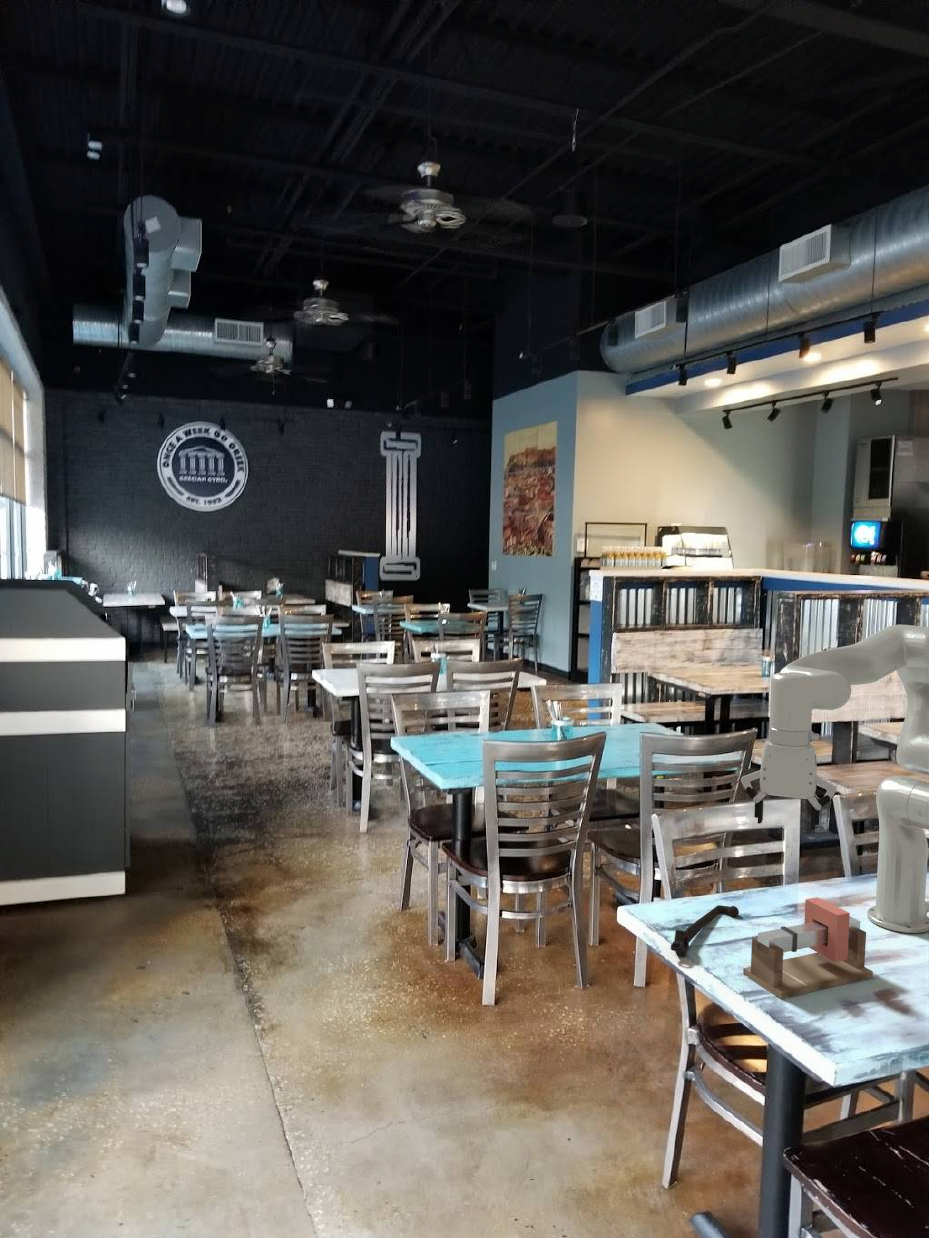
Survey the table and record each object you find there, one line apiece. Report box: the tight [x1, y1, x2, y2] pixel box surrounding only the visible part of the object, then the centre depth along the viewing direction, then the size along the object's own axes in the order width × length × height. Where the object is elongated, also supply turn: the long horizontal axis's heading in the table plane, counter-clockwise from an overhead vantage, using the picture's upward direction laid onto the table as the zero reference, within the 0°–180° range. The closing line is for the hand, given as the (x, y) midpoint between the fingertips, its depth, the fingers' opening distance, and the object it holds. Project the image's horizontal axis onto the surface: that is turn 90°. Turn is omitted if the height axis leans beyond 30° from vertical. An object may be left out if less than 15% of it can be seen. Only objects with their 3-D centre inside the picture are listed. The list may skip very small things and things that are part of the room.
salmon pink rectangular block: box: [803, 896, 851, 962], centre depth 172 cm, size 3×8×9 cm, turn 23°
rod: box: [757, 916, 861, 954], centre depth 170 cm, size 22×3×3 cm, turn 113°
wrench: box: [670, 904, 740, 958], centre depth 187 cm, size 5×5×30 cm
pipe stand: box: [742, 928, 874, 1000], centre depth 170 cm, size 22×10×8 cm, turn 113°
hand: (786, 824), depth 174 cm, fingers open, 9 cm apart
